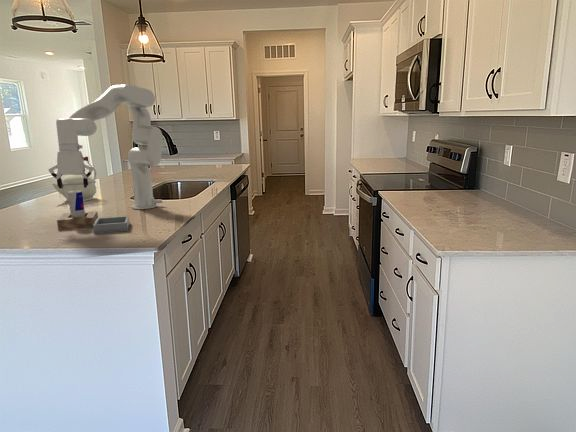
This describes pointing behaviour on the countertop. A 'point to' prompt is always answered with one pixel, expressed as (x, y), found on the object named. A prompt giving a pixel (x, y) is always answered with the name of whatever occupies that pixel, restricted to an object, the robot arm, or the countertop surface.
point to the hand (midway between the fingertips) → (73, 187)
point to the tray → (111, 224)
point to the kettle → (78, 185)
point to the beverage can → (76, 203)
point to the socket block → (77, 220)
